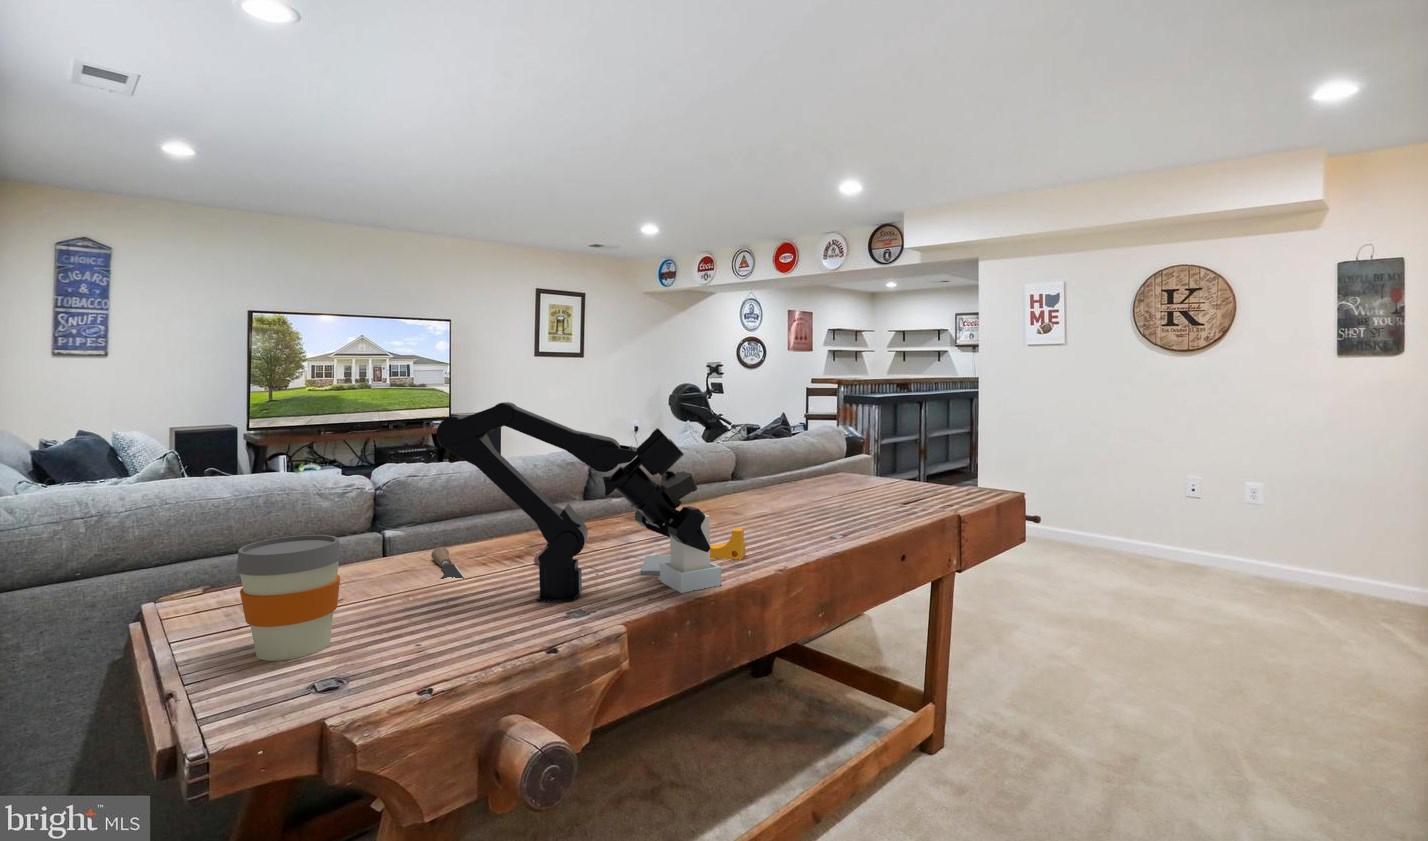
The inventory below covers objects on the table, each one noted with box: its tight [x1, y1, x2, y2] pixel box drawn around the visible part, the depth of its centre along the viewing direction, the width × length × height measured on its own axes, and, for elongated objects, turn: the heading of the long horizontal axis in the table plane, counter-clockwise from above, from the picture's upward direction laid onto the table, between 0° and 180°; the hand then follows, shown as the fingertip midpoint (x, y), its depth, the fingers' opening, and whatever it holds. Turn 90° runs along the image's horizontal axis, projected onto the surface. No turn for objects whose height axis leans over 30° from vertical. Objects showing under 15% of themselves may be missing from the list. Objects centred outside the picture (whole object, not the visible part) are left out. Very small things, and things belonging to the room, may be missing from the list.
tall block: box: [669, 513, 711, 573], centre depth 123 cm, size 6×6×13 cm
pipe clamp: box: [710, 527, 746, 560], centre depth 144 cm, size 12×4×6 cm, turn 76°
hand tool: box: [430, 546, 465, 579], centre depth 132 cm, size 6×3×25 cm
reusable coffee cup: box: [236, 534, 342, 662], centre depth 94 cm, size 13×13×15 cm
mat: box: [639, 554, 670, 576], centre depth 135 cm, size 12×12×1 cm
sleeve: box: [659, 561, 722, 594], centre depth 123 cm, size 8×8×4 cm
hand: (696, 545), depth 124 cm, fingers open, 9 cm apart
